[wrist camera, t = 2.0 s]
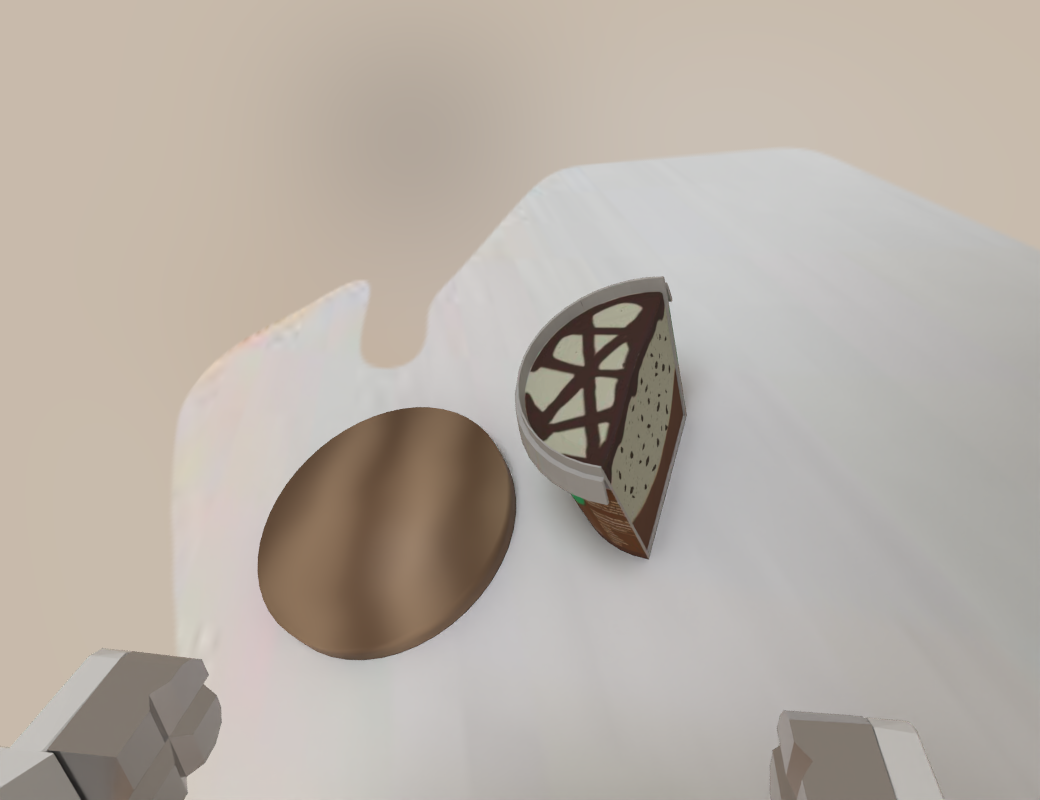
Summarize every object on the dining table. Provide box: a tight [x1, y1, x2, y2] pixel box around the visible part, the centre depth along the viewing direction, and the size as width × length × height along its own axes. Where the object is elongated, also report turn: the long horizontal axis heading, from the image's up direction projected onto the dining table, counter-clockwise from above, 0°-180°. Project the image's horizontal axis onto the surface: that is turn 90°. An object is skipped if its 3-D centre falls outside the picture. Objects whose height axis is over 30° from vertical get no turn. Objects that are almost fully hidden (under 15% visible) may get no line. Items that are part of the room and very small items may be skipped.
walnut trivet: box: [258, 407, 516, 660], centre depth 41 cm, size 16×16×2 cm
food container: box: [515, 276, 687, 559], centre depth 36 cm, size 12×6×10 cm, turn 160°
